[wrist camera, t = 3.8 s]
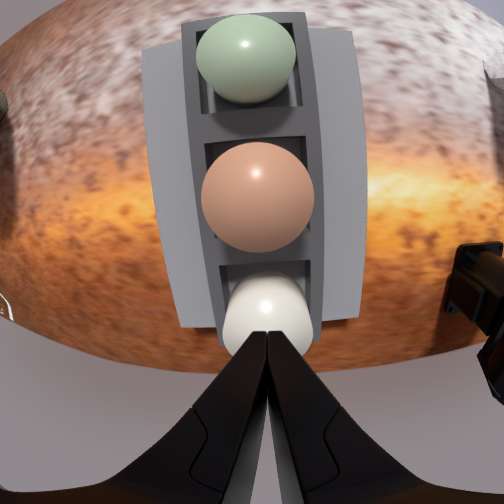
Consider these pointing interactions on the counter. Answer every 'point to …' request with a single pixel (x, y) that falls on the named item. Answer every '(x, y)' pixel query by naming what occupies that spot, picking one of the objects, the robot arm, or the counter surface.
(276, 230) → the button terracotta
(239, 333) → the button ivory
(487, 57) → the milkshake
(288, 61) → the button sage
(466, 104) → the counter surface
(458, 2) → the counter surface
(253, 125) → the button panel
